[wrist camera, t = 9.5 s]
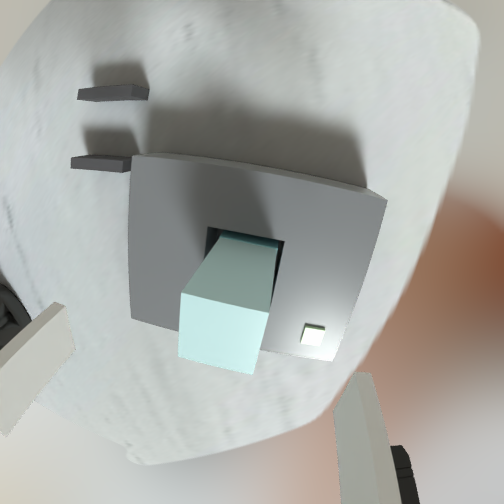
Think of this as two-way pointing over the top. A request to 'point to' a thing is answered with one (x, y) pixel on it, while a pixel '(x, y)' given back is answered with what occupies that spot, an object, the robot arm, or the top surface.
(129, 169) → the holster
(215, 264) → the plug
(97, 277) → the top surface
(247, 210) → the port block
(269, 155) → the top surface
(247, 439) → the top surface
